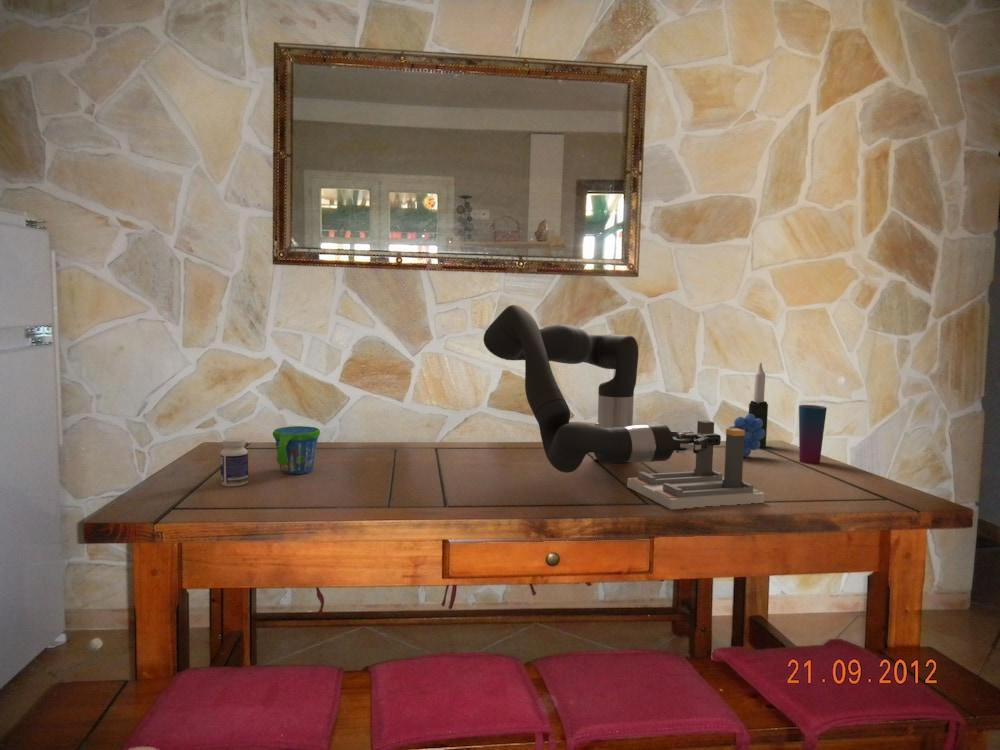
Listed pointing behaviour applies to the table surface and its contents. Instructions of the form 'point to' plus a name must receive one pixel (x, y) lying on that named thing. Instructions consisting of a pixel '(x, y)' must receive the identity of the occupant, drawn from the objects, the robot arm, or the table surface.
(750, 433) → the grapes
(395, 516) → the table surface
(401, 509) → the table surface
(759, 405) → the candle
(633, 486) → the panel
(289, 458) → the snack cup
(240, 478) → the pill bottle
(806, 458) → the cup
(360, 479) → the table surface
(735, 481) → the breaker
